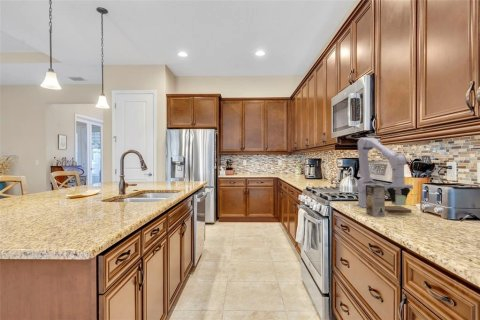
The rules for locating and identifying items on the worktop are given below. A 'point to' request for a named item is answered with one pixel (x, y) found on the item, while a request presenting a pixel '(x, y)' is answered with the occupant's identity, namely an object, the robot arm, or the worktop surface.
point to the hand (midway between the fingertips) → (398, 201)
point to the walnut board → (397, 209)
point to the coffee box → (375, 200)
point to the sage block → (400, 200)
